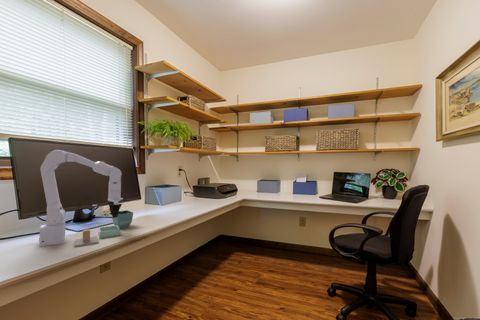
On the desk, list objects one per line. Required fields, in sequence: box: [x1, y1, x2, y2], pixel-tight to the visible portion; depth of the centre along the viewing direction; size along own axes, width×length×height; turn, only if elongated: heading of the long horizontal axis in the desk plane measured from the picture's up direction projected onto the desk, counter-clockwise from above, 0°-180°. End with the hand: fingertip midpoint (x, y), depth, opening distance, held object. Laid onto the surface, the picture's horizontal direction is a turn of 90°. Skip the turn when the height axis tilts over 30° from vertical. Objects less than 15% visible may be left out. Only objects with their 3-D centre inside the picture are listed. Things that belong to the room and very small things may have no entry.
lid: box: [74, 228, 99, 248], centre depth 108 cm, size 9×9×6 cm
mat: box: [72, 236, 100, 249], centre depth 108 cm, size 10×10×1 cm
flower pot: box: [112, 210, 134, 230], centre depth 133 cm, size 9×9×9 cm
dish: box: [97, 225, 121, 240], centre depth 119 cm, size 9×9×4 cm
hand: (114, 215), depth 120 cm, fingers open, 7 cm apart
